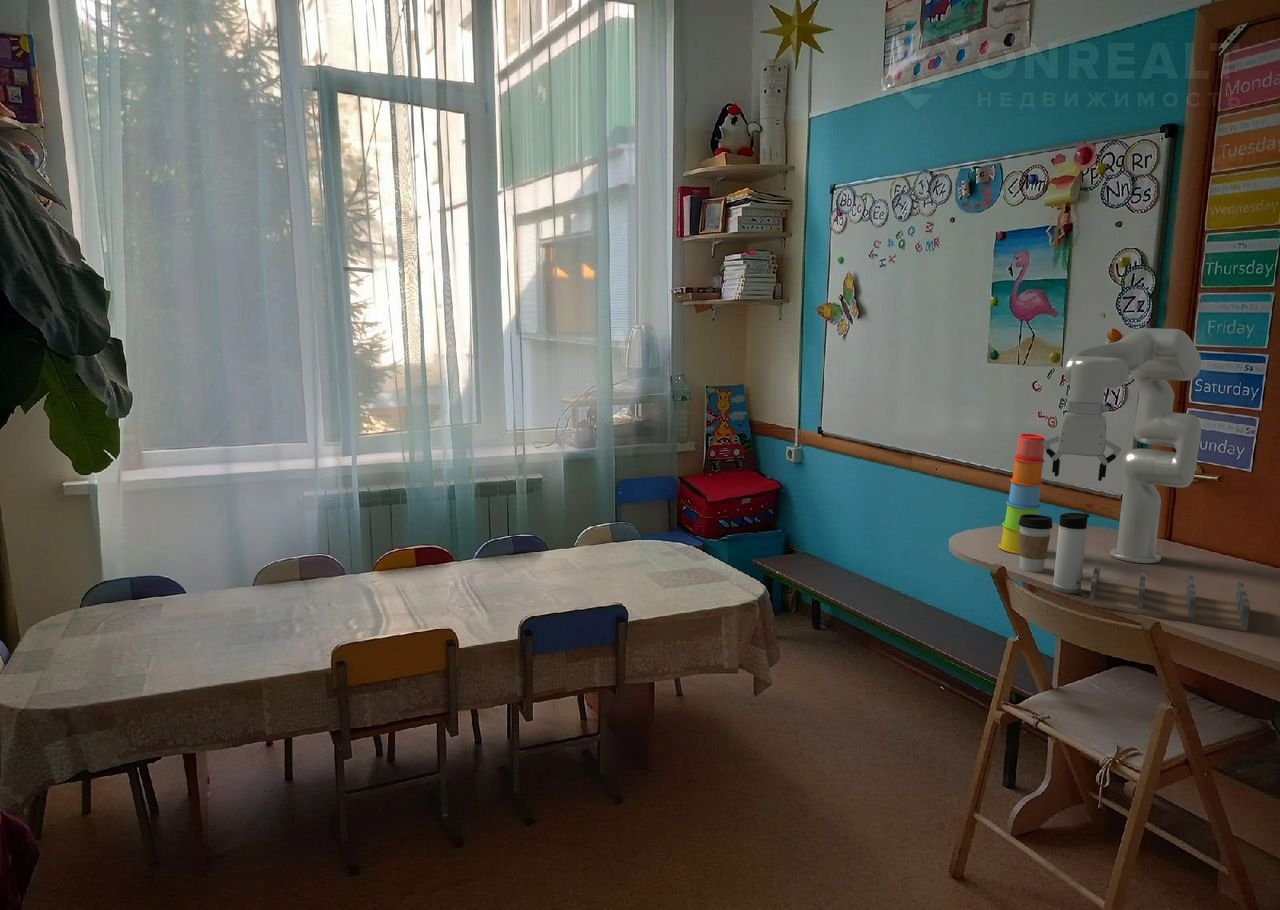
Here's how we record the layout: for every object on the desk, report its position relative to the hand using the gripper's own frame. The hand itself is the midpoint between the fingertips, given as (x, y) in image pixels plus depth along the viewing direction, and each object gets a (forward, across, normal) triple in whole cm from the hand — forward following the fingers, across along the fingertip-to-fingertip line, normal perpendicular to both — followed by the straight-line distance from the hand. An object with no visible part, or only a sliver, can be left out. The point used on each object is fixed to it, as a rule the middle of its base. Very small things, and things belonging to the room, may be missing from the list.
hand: (1078, 477), depth 207 cm
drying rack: (+29, -21, +1) cm, 36 cm away
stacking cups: (+29, +16, -32) cm, 46 cm away
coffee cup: (+29, +10, -14) cm, 34 cm away
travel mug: (+29, 0, 0) cm, 29 cm away
